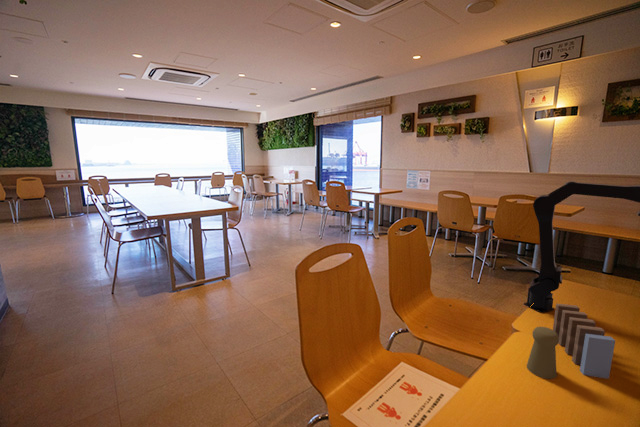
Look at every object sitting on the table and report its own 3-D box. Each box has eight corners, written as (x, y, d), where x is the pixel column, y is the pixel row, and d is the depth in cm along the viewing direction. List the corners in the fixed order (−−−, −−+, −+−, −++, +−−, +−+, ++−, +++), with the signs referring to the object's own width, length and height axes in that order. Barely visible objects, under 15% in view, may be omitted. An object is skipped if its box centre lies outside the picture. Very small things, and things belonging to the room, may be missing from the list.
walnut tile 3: (564, 351, 82) (569, 317, 80) (586, 354, 81) (592, 319, 79) (567, 354, 81) (572, 320, 79) (590, 357, 79) (595, 322, 77)
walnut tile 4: (571, 360, 78) (577, 324, 77) (595, 363, 77) (601, 327, 75) (575, 364, 77) (580, 328, 75) (599, 367, 75) (605, 331, 74)
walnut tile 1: (552, 334, 90) (556, 303, 88) (572, 337, 88) (576, 305, 86) (554, 337, 88) (558, 306, 86) (575, 340, 87) (579, 308, 85)
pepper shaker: (551, 365, 77) (556, 325, 75) (560, 381, 71) (566, 339, 69) (523, 360, 79) (527, 321, 77) (530, 376, 73) (535, 334, 71)
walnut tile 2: (558, 342, 86) (562, 310, 84) (579, 345, 84) (584, 312, 83) (560, 345, 84) (565, 312, 83) (582, 348, 83) (587, 315, 81)
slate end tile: (579, 370, 75) (585, 333, 73) (604, 374, 73) (611, 336, 71) (583, 374, 73) (589, 337, 71) (608, 378, 72) (615, 340, 70)
